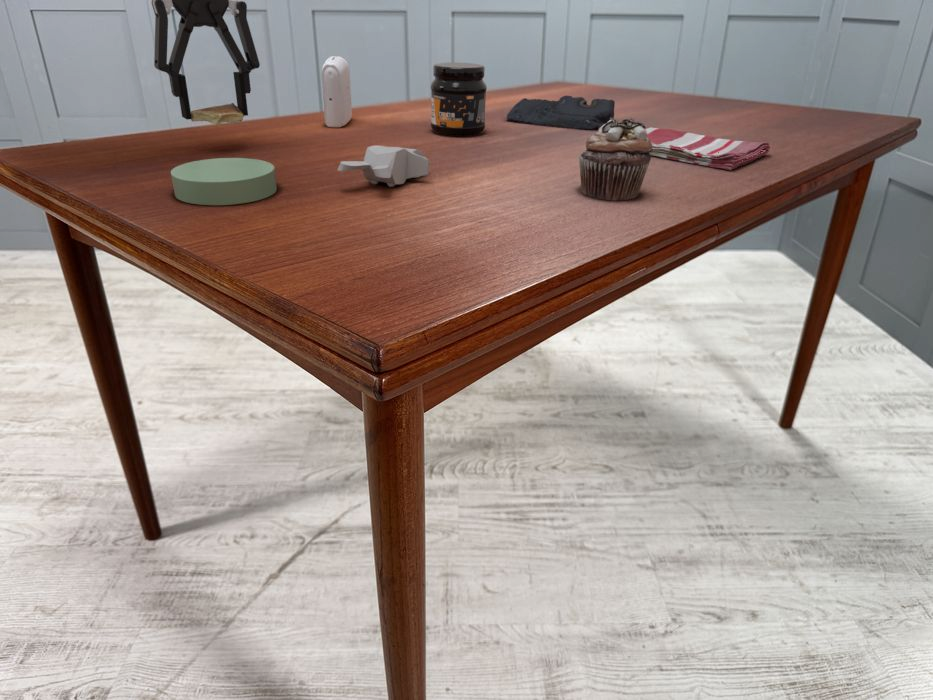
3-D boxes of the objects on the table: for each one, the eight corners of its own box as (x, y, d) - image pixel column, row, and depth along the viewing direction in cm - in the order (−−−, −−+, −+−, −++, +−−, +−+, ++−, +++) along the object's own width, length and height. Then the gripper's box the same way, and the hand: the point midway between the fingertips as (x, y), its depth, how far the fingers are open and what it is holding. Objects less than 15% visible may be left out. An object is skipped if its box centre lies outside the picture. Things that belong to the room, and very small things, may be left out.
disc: (163, 186, 91) (159, 164, 89) (256, 174, 97) (254, 153, 96) (191, 211, 81) (186, 186, 80) (291, 196, 88) (289, 173, 87)
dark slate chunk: (523, 110, 153) (524, 88, 151) (618, 119, 146) (621, 96, 144) (500, 121, 141) (501, 97, 138) (603, 131, 133) (606, 106, 131)
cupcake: (620, 181, 99) (630, 111, 94) (658, 199, 91) (671, 123, 86) (563, 186, 96) (570, 113, 91) (597, 204, 88) (606, 126, 83)
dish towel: (732, 171, 106) (736, 154, 105) (604, 148, 120) (606, 132, 118) (769, 155, 118) (773, 139, 116) (648, 135, 131) (650, 121, 130)
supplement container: (419, 132, 128) (419, 64, 122) (450, 124, 136) (451, 60, 130) (465, 139, 123) (467, 69, 117) (495, 131, 131) (498, 65, 125)
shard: (234, 111, 117) (232, 100, 116) (269, 116, 114) (268, 105, 113) (188, 121, 108) (186, 109, 107) (226, 126, 105) (224, 114, 104)
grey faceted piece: (443, 147, 98) (391, 155, 85) (441, 183, 100) (390, 195, 87) (387, 140, 101) (329, 146, 88) (386, 174, 103) (329, 185, 90)
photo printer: (344, 128, 130) (340, 59, 124) (322, 127, 130) (317, 58, 124) (354, 118, 139) (351, 54, 133) (334, 118, 139) (329, 53, 133)
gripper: (122, -48, 91) (153, 124, 102) (272, -39, 102) (285, 115, 113) (110, -47, 96) (141, 116, 107) (255, -39, 108) (269, 108, 118)
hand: (215, 115), depth 110 cm, fingers closed on shard, 8 cm apart
